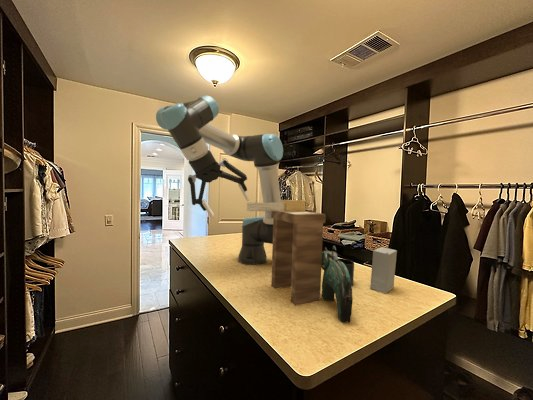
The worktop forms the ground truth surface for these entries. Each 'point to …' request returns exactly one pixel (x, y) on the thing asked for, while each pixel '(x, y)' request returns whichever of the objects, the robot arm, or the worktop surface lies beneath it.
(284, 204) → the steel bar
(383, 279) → the skincare box
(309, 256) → the walnut shelf
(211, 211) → the robot arm
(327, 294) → the dark green curved figure
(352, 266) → the mug
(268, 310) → the worktop surface
